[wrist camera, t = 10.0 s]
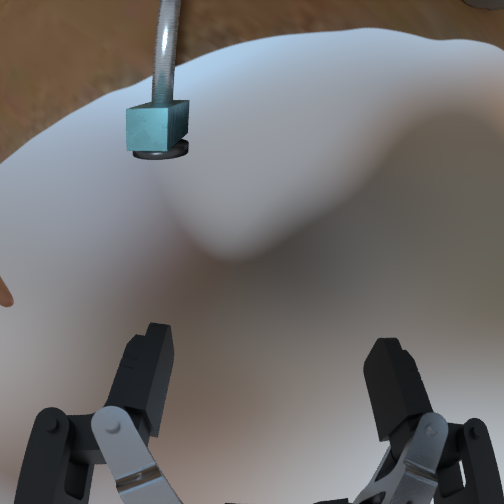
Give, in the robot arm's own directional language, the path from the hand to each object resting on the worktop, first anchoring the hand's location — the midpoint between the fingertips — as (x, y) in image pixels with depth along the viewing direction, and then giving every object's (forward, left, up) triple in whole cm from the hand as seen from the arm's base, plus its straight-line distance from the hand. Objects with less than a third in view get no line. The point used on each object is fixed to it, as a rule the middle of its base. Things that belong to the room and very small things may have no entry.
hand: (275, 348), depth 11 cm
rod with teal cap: (+11, -11, -28) cm, 32 cm away
